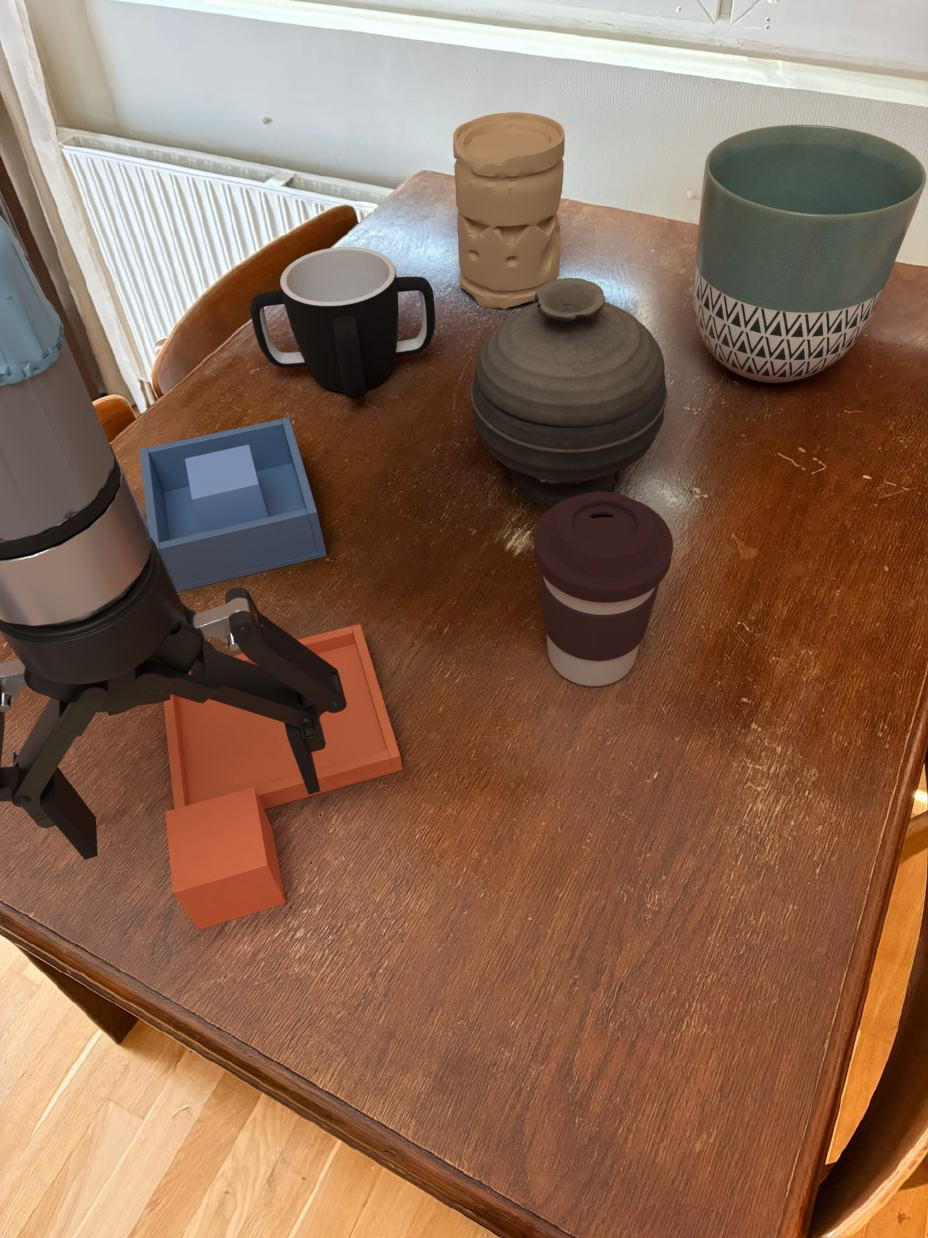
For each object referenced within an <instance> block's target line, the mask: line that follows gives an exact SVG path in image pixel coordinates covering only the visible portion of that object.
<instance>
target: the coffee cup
mask: <svg viewBox="0 0 928 1238" xmlns="http://www.w3.org/2000/svg"><path fill="white" fill-rule="evenodd" d="M673 551H674V540H673V534H672V532H671V529H670V527H669V526H668V523H667V522H666V521H665V519H663V517H661V515H660V514H659V513H657V511H655V510H654V509H653V508H651V506H648V505H647V504H645V503H643V502H641V501H638V500H637V499H635V498H632V497H630V496H628V495H626V494H622V493H618V492H614V491H613V492H612V491H607V492H592V493H586V494H583V495H580V496H576V497H572V498H569V499H567V500H564V501H562V502H560V503H558V504H557V505H555V506H554V507H552V508H549V509H548V510H547V511H546V512H545V513H544V514H543V516H542V517H541V518H540V520H539V521H538V523H537V525H536V528H535V530H534V538H533V557H534V561H535V564H536V566H537V569H538V571H539V579H540V591H541V592H540V593H541V594H540V596H541V609H542V611H541V612H542V621H543V627H544V631H545V633H546V645H547V656H548V659H549V661H550V663H551V665H552V667H553V668H554V670H555V671H556V672H557V673H558V674H559V675H560V676H562V677H563V678H565V679H566V680H567V681H570V682H572V683H574V684H576V685H579V686H583V687H603V686H608V685H612V684H614V683H617V682H618V681H620V680H622V679H623V678H624V677H626V676H627V674H628V673H630V671H631V669H632V668H633V666H634V665H635V662H636V660H637V655H638V651H639V648H640V644H641V642H642V641H643V640H644V638H645V636H646V633H647V629H648V627H649V623H650V619H651V616H652V612H653V610H654V609H653V608H654V605H655V602H656V598H657V595H658V590H659V587H660V583H662V581H663V580H664V579H665V577H666V575H667V573H668V572H669V568H670V566H671V564H672V563H671V562H672V557H673Z"/></svg>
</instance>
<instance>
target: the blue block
mask: <svg viewBox="0 0 928 1238" xmlns="http://www.w3.org/2000/svg"><path fill="white" fill-rule="evenodd" d="M185 462H186V468H187V474H188V480H189V486H190V492H191V497H192V501H193V504H194V507H195V509H196V512H197V515H198V518H199V520H200V523H201V526H202V529H203V532H207V531H211V530H216V529H220V528H224V527H228V526H233V525H237V524H241V523H246V522H250V521H254V520H259V519H263V518H267V517H269V516H268V512H267V508H266V504H265V500H264V497H263V493H262V489H261V485H260V482H259V478H258V475H257V471H256V468H255V464H254V461H253V457H252V453H251V450H250V446H249V445H244V446H240V447H235V448H231V449H226V450H222V451H217V452H213V453H208V454H204V455H200V456H195V457H191V458H186V459H185Z"/></svg>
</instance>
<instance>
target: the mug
mask: <svg viewBox="0 0 928 1238" xmlns="http://www.w3.org/2000/svg"><path fill="white" fill-rule="evenodd" d="M279 285H280V289H275V290H269V291H264V292H260V293H257V294H255V295H254V296H253V297H252V299H251V302H250V307H249V313H250V318H251V322H252V327H253V330H254V334H255V335H254V336H255V337H256V341H257V344H258V346H259V348H260V350H261V352H262V354H263V355H264V357H266V359H267V360H268V362H270V363H271V364H273V365H274V366H275V367H278V368H281V369H282V368H283V369H291V368H292V369H293V368H307V369H308V371H309V373H310V374H311V376H312V377H313V379H314V380H315V382H316V383H318V385H320V386H321V387H323V388H324V389H327V390H330V391H334V392H338V393H344V396H345V397H346V398H348V399H350V400H351V399H352V400H355V399H356V400H357V399H361V398H364V397H365V396H366V394H367V390H370V389H372V388H374V387H376V386H379V385H381V384H382V383H383V382H384V381H385V380H387V379H388V377H389V376H390V375H391V373H392V370H393V368H394V364H395V360H396V358H399V357H406V356H412V355H417V354H420V353H422V352H424V351H425V350H426V349H427V348H428V347H429V345H430V343H431V342H432V339H433V337H434V334H435V330H436V329H435V328H436V305H435V295H434V289H433V287H432V285H431V284H430V282H429V281H428V279H426V278H425V277H423V276H397V269H396V266H395V264H394V262H393V261H392V260H391V259H390V258H389V257H388V256H386V255H385V254H383V253H381V252H378V251H375V250H372V249H369V248H366V247H365V248H364V247H358V246H338V247H337V246H336V247H329V248H324V249H320V250H316V251H312V252H310V253H307V254H305V255H303V256H301V257H299V258H298V259H296V260H294V261H292V262H291V263H290V264H289V265H288V266H287V267H286V268H285V269H284V271H283V272H282V273H281V276H280V280H279ZM414 291H415V292H418V293H419V299H420V309H421V329H420V331H419V333H418V335H417V336H416V337H415V338H411V339H406V340H398V334H399V293H404V292H405V293H406V292H414ZM280 305H281V306H282V305H284V309H285V311H286V316H287V319H288V322H289V325H290V329H291V331H292V333H293V337H294V339H295V341H296V344H297V347H298V349H299V351H295V352H282V351H280V350H279V349H278V348H277V347H276V345H275V344H274V342H273V340H272V338H271V334H270V331H269V330H270V329H269V327H268V323H267V317H266V312H265V308H266V307H267V308H268V307H271V306H280Z"/></svg>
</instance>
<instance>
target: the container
mask: <svg viewBox="0 0 928 1238" xmlns="http://www.w3.org/2000/svg"><path fill="white" fill-rule="evenodd" d="M565 138H566V135H565V130H564V127H563V126H562V124H560V123H559V122H558V121H556V120H554V119H553V118H550V117H547V116H544V115H541V114H537V113H530V112H520V111H518V112H516V111H514V112H513V111H512V112H511V111H510V112H498V113H490V114H487V115H482V116H480V117H477V118H475V119H472V120H470V121H466V122H464V123H461V124H460V125H459V126H458V127H456V129H455V130H454V132H453V136H452V149H453V150H452V151H453V158H454V159H455V162H454V166H453V168H454V182H455V183H454V184H455V205H456V208H457V218H456V229H457V232H456V233H457V251H458V266H459V269H460V271H459V287H460V290H464V291H466V292H467V293H468V294H470V295H471V296H472V297H473V298H474V300H475V301H476V303H477V305H479V306H480V307H481V308H482V307H483V308H488V309H496V310H497V309H501V310H503V311H506V310H507V309H509V308H512V307H517V306H520V305H523V304H525V303H529V302H534V295H535V293H536V292H537V290H538V289H539V288H540V287H541V286H542V285H544V284H545V283H548V282H550V281H553V280H557V279H559V276H560V272H561V271H560V267H561V248H562V247H561V245H562V243H561V242H562V238H561V226H560V222H559V216H558V212H559V207H560V203H561V198H562V194H563V184H564V169H565V167H564V166H565V162H564V159H563V158H564V155H565V145H566V144H565V142H566V139H565Z"/></svg>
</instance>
